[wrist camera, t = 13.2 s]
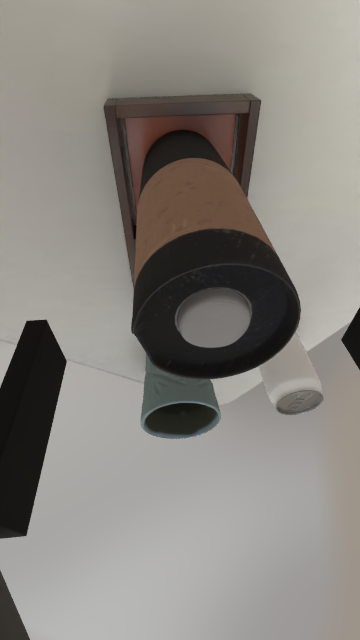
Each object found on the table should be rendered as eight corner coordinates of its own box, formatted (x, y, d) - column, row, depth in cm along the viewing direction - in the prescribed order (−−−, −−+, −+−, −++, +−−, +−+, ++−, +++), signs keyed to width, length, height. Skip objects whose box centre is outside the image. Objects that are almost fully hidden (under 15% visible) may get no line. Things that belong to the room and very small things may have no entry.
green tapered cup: (189, 315, 40) (199, 392, 32) (218, 354, 47) (233, 426, 38) (128, 342, 43) (123, 419, 35) (164, 375, 50) (167, 446, 41)
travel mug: (239, 153, 26) (344, 300, 12) (196, 225, 31) (236, 393, 17) (162, 105, 23) (181, 225, 9) (127, 192, 28) (105, 361, 14)
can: (300, 317, 42) (338, 390, 34) (280, 346, 47) (309, 417, 38) (258, 313, 41) (287, 387, 33) (242, 343, 45) (264, 416, 37)
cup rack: (139, 306, 39) (139, 322, 36) (107, 98, 23) (103, 105, 21) (226, 301, 39) (230, 316, 37) (251, 93, 23) (261, 99, 21)
